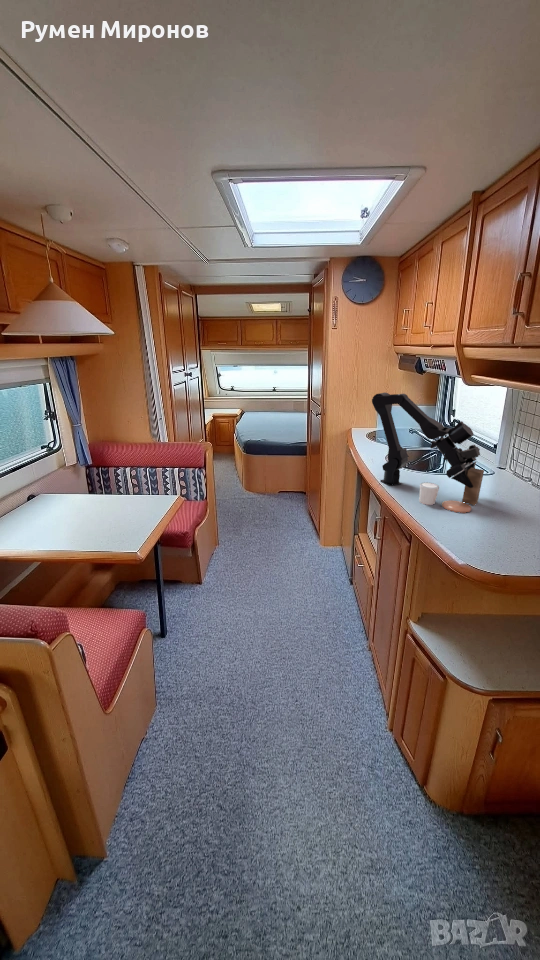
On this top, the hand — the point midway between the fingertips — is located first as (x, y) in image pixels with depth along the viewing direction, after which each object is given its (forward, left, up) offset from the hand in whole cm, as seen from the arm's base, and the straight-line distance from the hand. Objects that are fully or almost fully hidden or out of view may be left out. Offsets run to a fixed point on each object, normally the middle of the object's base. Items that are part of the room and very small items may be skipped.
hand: (475, 484), depth 151 cm
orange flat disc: (+2, -9, -7) cm, 12 cm away
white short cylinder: (-6, -16, -8) cm, 19 cm away
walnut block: (-1, 0, -7) cm, 8 cm away
